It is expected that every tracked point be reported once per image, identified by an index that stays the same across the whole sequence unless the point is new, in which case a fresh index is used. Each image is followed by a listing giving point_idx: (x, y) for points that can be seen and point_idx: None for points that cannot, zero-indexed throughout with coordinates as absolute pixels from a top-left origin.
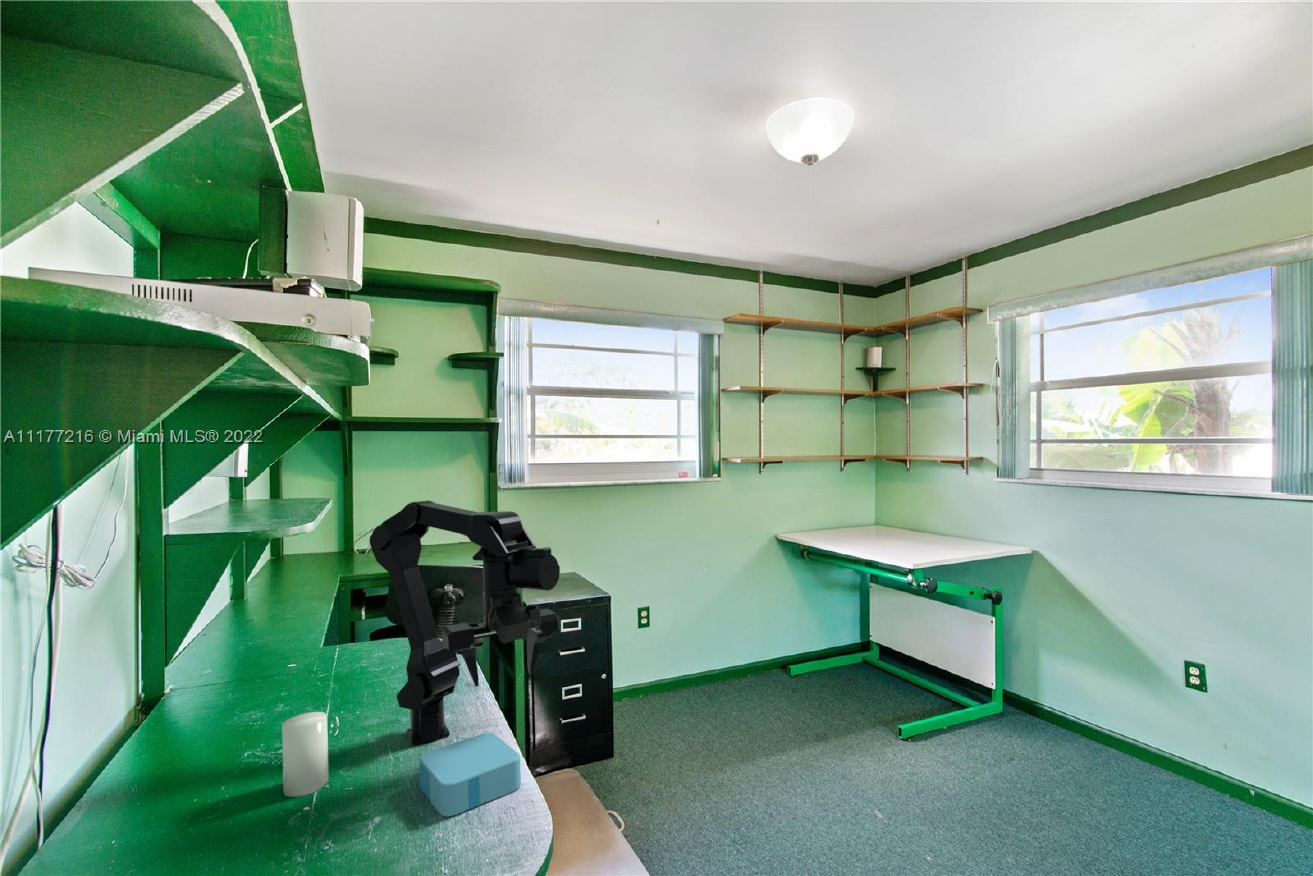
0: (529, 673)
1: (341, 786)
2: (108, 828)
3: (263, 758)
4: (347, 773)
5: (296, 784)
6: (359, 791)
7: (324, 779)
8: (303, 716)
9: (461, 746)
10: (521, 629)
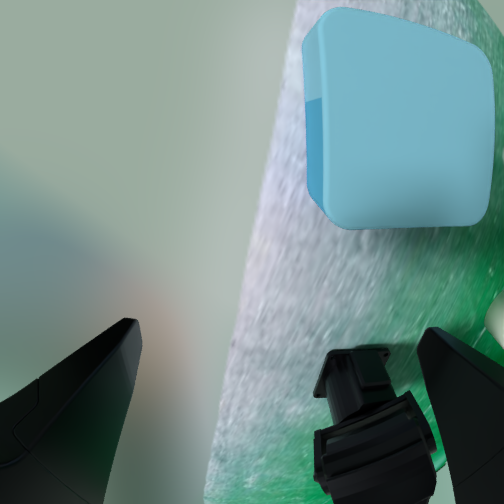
0: (139, 331)
1: (491, 282)
2: None
3: None
4: (472, 314)
5: None
6: (490, 253)
7: (501, 301)
8: None
9: (422, 193)
10: None
